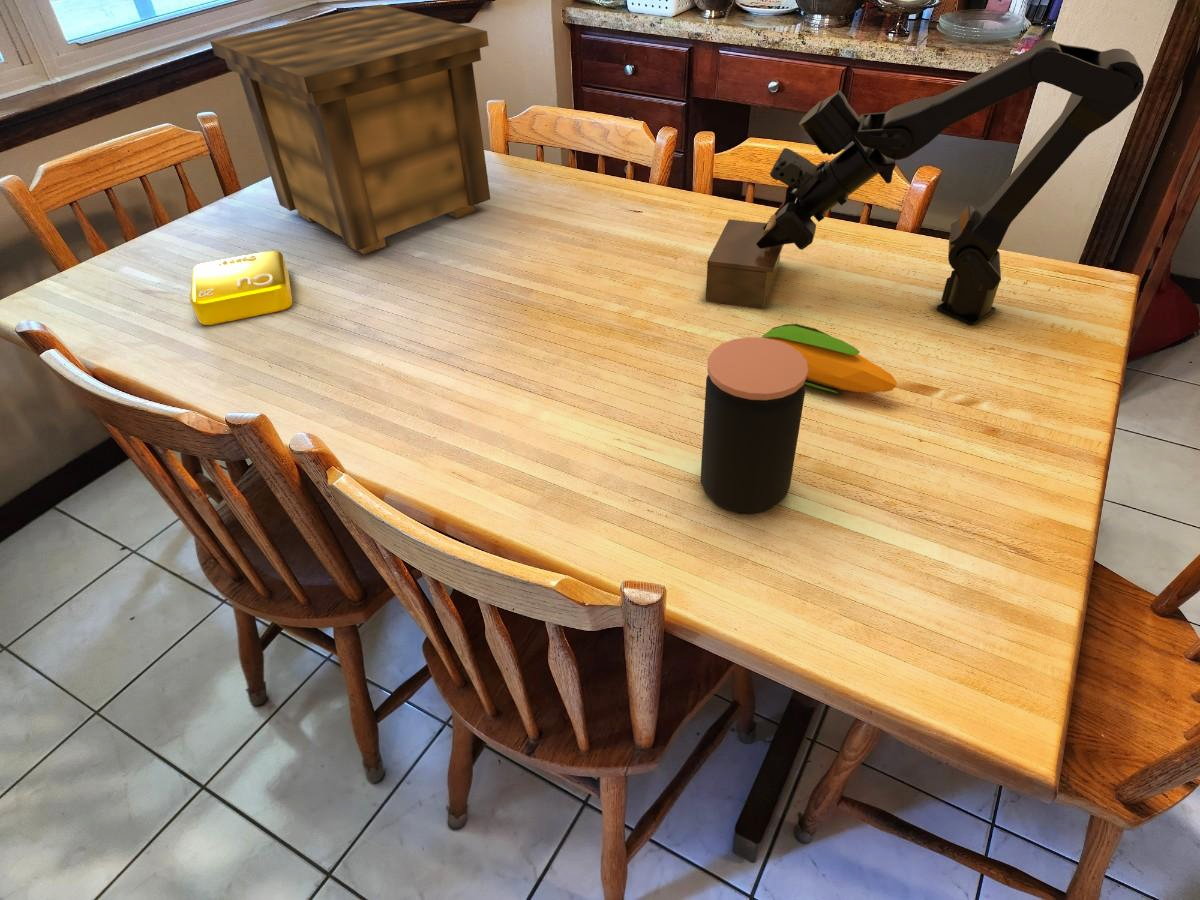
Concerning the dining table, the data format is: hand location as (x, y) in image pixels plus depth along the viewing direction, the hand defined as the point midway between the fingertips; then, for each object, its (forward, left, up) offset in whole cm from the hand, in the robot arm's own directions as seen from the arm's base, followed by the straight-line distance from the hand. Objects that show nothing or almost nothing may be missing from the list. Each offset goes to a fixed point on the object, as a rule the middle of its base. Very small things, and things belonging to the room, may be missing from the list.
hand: (761, 238), depth 128 cm
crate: (+70, +34, -8) cm, 78 cm away
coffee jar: (-33, +37, -8) cm, 51 cm away
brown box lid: (+1, +1, -2) cm, 2 cm away
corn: (-25, +13, -9) cm, 30 cm away
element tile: (+55, +68, -8) cm, 88 cm away
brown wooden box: (+2, +1, -8) cm, 9 cm away
